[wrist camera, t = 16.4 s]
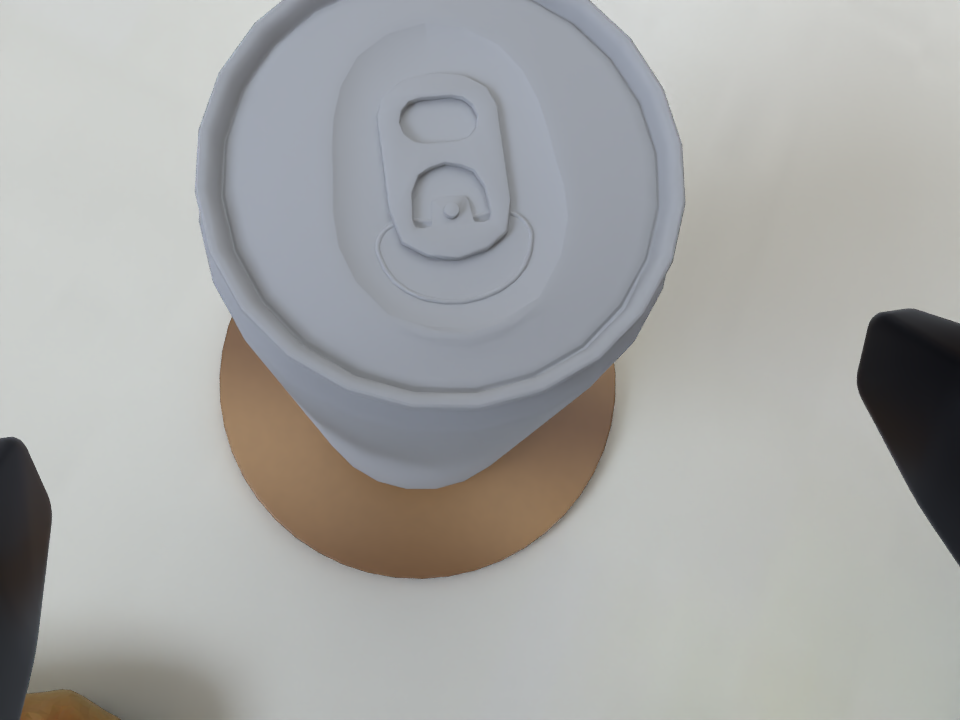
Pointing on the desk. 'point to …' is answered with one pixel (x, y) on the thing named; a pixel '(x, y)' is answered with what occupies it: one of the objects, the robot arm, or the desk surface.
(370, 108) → the beverage can
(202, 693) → the desk surface
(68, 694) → the pastry
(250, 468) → the coaster
